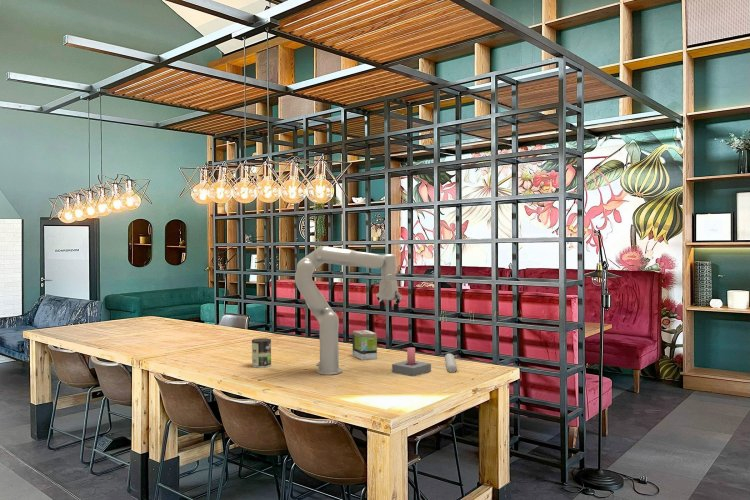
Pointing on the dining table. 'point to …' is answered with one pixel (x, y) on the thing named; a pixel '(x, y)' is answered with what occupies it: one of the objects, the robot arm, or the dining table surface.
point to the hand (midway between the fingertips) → (389, 310)
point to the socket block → (411, 368)
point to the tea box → (365, 344)
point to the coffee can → (261, 353)
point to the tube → (450, 363)
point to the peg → (410, 356)
